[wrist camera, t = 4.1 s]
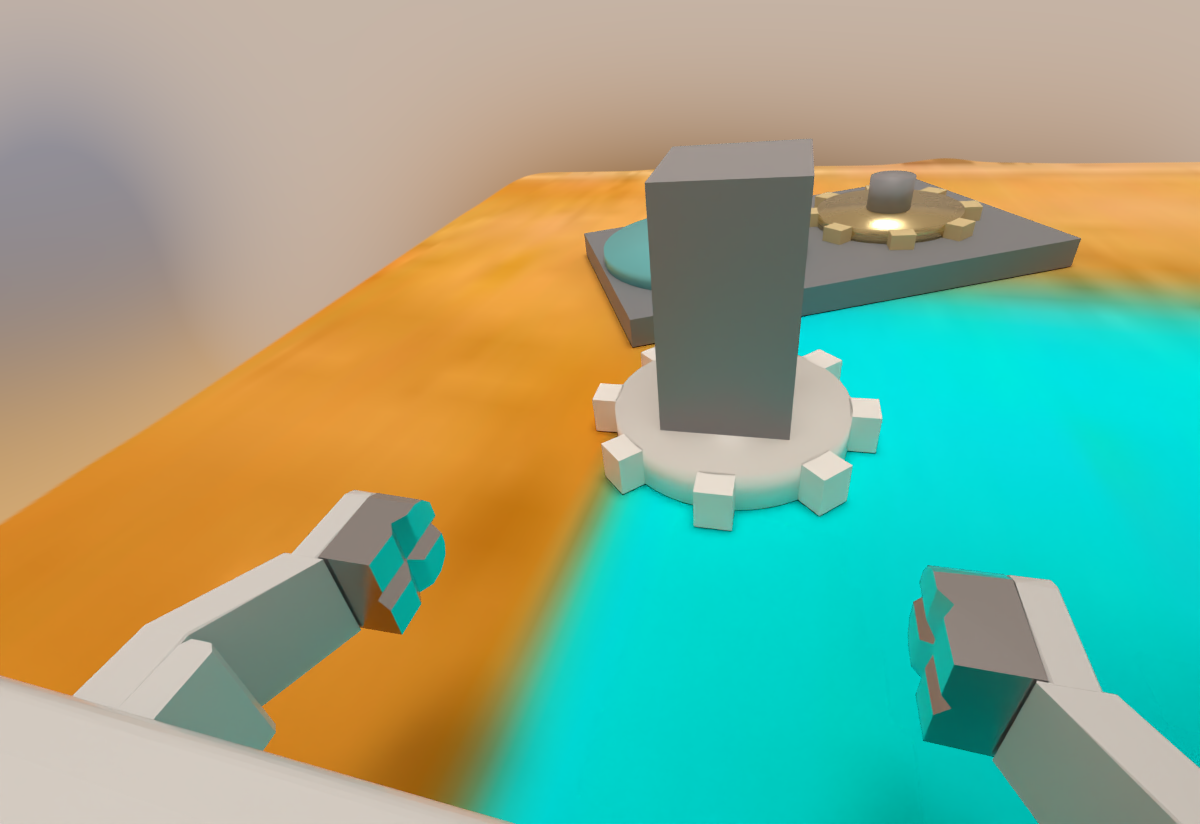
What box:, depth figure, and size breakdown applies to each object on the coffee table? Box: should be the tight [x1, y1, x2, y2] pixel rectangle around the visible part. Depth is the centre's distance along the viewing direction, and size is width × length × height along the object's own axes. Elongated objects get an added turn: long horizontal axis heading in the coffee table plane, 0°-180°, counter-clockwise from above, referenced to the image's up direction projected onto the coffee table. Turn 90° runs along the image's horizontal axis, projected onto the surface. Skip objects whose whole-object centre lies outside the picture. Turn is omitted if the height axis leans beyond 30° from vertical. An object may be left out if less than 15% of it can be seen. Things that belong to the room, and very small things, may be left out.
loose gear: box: [592, 139, 882, 531], centre depth 20 cm, size 10×10×10 cm
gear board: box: [584, 171, 1081, 347], centre depth 35 cm, size 24×14×4 cm, turn 101°
